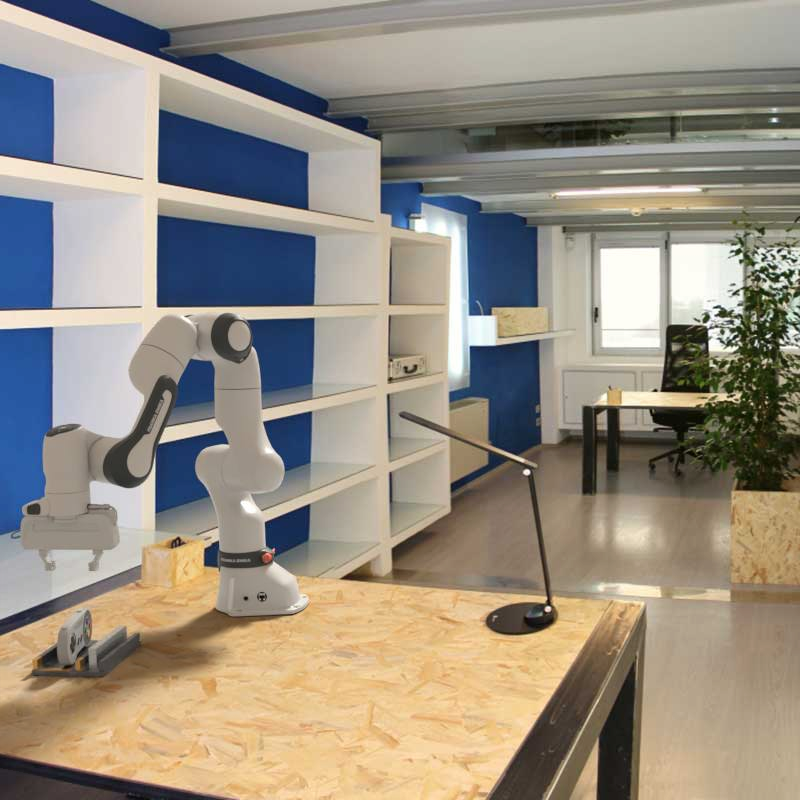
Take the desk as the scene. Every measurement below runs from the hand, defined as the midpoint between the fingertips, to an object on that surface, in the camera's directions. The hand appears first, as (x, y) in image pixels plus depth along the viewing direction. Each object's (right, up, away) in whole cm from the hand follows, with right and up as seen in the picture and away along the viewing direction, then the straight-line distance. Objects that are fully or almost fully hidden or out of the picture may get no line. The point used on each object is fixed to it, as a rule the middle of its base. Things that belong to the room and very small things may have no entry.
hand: (72, 570), depth 210 cm
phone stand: (+3, -19, +1) cm, 19 cm away
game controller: (0, -18, +1) cm, 18 cm away
